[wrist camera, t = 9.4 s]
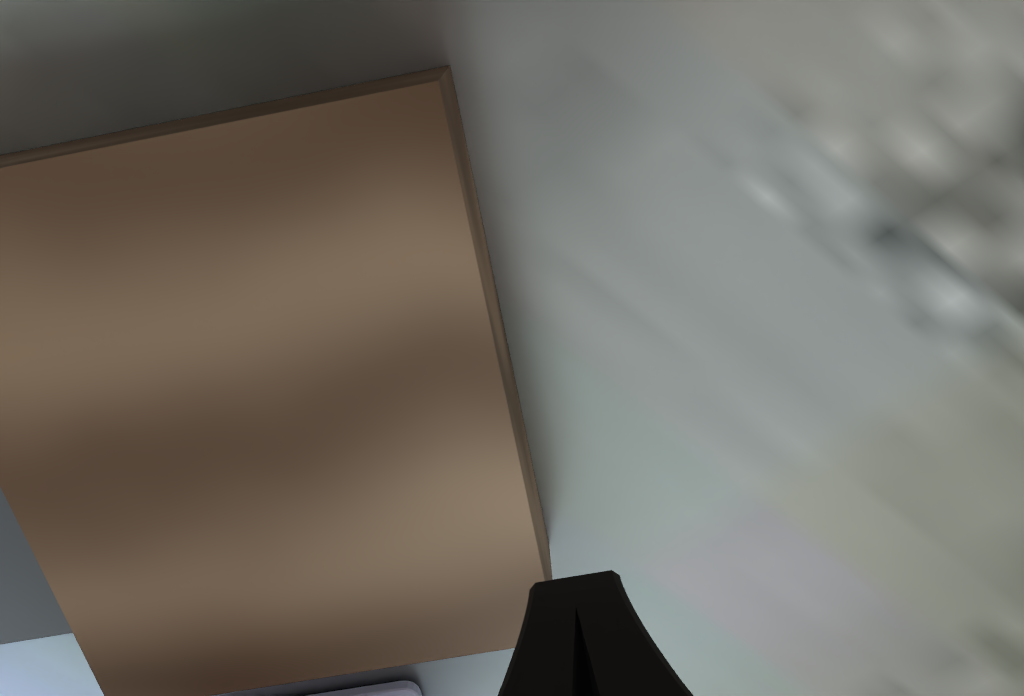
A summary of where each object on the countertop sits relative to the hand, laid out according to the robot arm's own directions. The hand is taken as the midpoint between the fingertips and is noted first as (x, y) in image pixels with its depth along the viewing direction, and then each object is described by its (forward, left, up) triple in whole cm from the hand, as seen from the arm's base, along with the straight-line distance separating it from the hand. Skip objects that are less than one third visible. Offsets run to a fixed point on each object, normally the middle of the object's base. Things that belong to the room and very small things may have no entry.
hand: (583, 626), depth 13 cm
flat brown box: (+1, +7, -10) cm, 13 cm away
